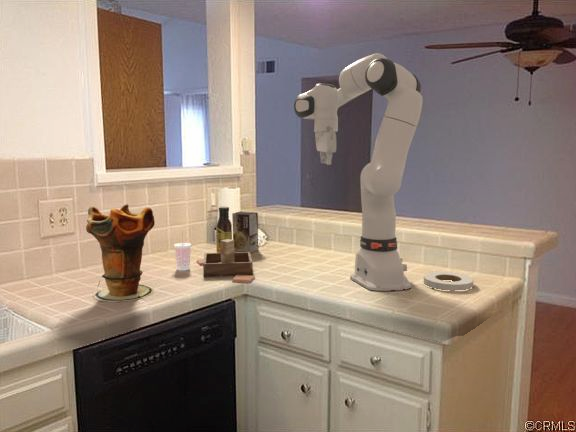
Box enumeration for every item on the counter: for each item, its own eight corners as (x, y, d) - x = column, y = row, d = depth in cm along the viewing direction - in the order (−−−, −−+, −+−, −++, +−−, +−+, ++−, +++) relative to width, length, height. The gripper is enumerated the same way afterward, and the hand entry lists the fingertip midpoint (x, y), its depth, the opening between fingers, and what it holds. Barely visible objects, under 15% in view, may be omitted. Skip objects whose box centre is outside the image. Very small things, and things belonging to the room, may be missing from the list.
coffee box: (258, 250, 219) (258, 212, 217) (249, 253, 214) (249, 214, 211) (241, 247, 224) (241, 210, 222) (232, 250, 219) (231, 212, 216)
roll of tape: (482, 286, 166) (482, 277, 166) (456, 296, 156) (456, 287, 156) (440, 277, 178) (440, 268, 177) (413, 285, 168) (413, 276, 167)
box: (252, 275, 179) (252, 262, 179) (203, 276, 177) (203, 264, 176) (249, 263, 196) (249, 251, 195) (204, 265, 194) (204, 253, 193)
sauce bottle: (215, 254, 211) (214, 206, 208) (230, 253, 213) (229, 205, 210) (218, 258, 205) (217, 208, 202) (233, 257, 207) (232, 207, 204)
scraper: (243, 267, 187) (242, 240, 185) (232, 271, 181) (231, 243, 180) (223, 264, 192) (223, 237, 190) (212, 267, 186) (211, 240, 185)
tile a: (215, 265, 196) (215, 261, 195) (200, 266, 193) (200, 263, 193) (212, 261, 201) (212, 258, 201) (196, 263, 199) (196, 259, 199)
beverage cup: (194, 266, 191) (192, 229, 189) (189, 271, 185) (188, 232, 183) (177, 266, 192) (176, 229, 190) (172, 270, 186) (171, 232, 184)
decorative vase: (129, 277, 175) (128, 195, 170) (173, 293, 160) (172, 204, 155) (70, 292, 159) (67, 202, 154) (113, 311, 145) (110, 213, 139)
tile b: (249, 284, 170) (249, 280, 170) (232, 283, 171) (232, 279, 171) (254, 279, 176) (254, 275, 176) (237, 278, 177) (237, 274, 177)
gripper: (340, 126, 186) (340, 165, 188) (328, 127, 206) (328, 162, 208) (323, 126, 185) (323, 165, 187) (313, 127, 205) (312, 162, 207)
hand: (325, 163), depth 198 cm, fingers open, 8 cm apart
